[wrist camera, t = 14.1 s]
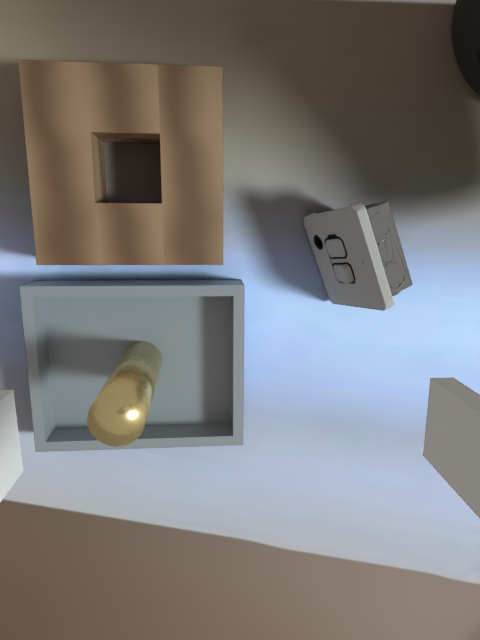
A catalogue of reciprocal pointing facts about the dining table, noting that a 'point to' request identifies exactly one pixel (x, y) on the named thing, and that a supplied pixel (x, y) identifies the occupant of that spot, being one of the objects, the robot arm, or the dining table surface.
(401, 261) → the electrical switch
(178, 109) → the block
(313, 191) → the dining table surface
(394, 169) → the dining table surface
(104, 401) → the pin
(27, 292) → the tray
